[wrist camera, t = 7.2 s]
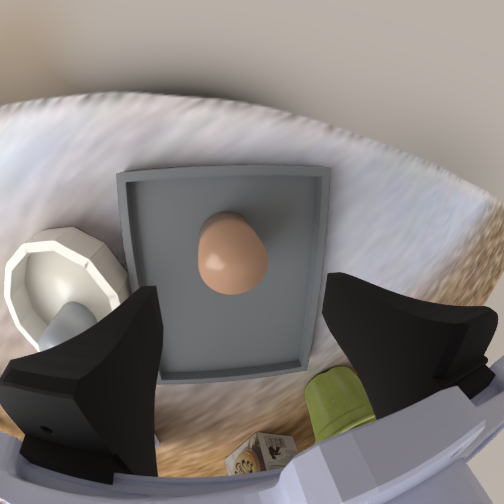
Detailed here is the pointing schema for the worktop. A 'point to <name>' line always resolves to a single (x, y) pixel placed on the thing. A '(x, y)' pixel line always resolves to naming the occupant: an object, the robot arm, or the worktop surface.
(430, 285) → the worktop surface
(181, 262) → the tray
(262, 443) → the coffee box
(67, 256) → the bowl
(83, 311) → the grey rounded cylinder
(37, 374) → the robot arm
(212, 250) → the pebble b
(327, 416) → the plant pot
